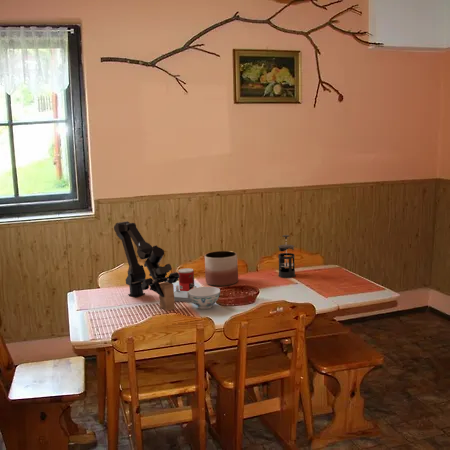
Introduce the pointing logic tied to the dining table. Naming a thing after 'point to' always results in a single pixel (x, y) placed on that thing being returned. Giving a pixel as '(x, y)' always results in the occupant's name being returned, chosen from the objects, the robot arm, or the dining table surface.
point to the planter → (221, 268)
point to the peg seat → (181, 295)
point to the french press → (282, 270)
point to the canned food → (186, 279)
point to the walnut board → (167, 296)
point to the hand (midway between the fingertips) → (168, 295)
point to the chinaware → (204, 296)
